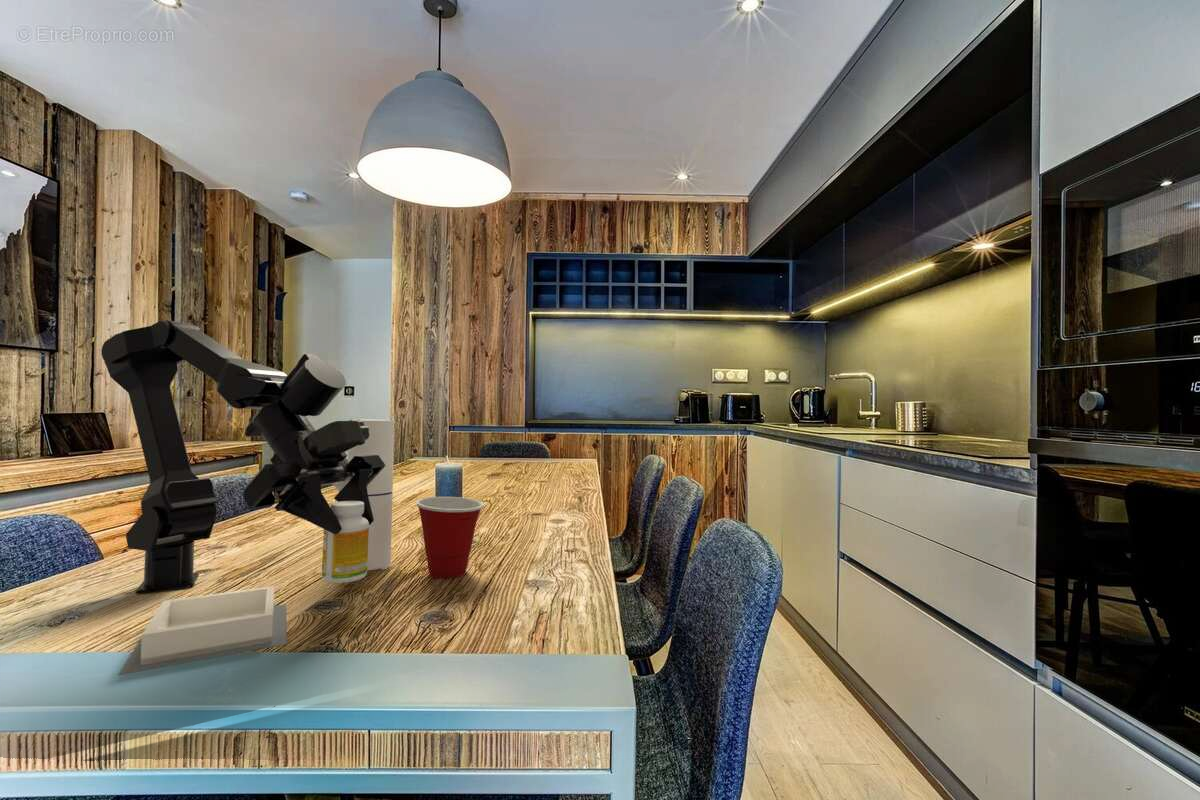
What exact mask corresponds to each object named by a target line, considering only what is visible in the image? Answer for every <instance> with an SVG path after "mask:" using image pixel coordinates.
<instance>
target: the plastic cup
mask: <svg viewBox="0 0 1200 800" xmlns="http://www.w3.org/2000/svg"><path fill="white" fill-rule="evenodd" d="M416 506H417V507H418V510H419V515H420V522H421V526H422V534H423V535H422V536H423V543H424V551H425V552H424V553H425V556H426V561H427V569H428V572H429V577H431V578H434V579H435V578H436V579H454V578H459V577H462V576H464V575H465V574H466V572H467V569H468V564H469V558H470V553H471V550H472V545H473V540H474V535H475V530H476V524H477V522H478V518H479V516H480V513H481V511H482V509H483V508H484V507H485V504H484V502H482V501H479V500H477V499H473V498H472V499H471V498H466V497H458V496H430V497H429V496H428V497H423V498H420V499H418V500H416Z"/></svg>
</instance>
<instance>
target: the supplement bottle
mask: <svg viewBox="0 0 1200 800" xmlns="http://www.w3.org/2000/svg"><path fill="white" fill-rule="evenodd" d="M330 508H331V509H332V511H333V512H334V514H335V516H336V517H337V519H338V521H339V523H340V525H341V528H342V529H341V531H340V532H339V533H338V534H333V533H331V532H329V531H327V530H325V529H323V534H322V535H323V539H322V540H323V541H322V559H321V560H322V563H321V578H322V580H323V581H324V582H326V583H333V584H334V583H336V584H340V583H350V582H356V581H359V580H361V579H363V578H364V577H366V575H367V574H368V570H367V565H368V537H369V522H368V520H367V519H365V518H363V517H362V514H363V513H364V502H361V501H340V502H338V501H335V502H331V504H330Z"/></svg>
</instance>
